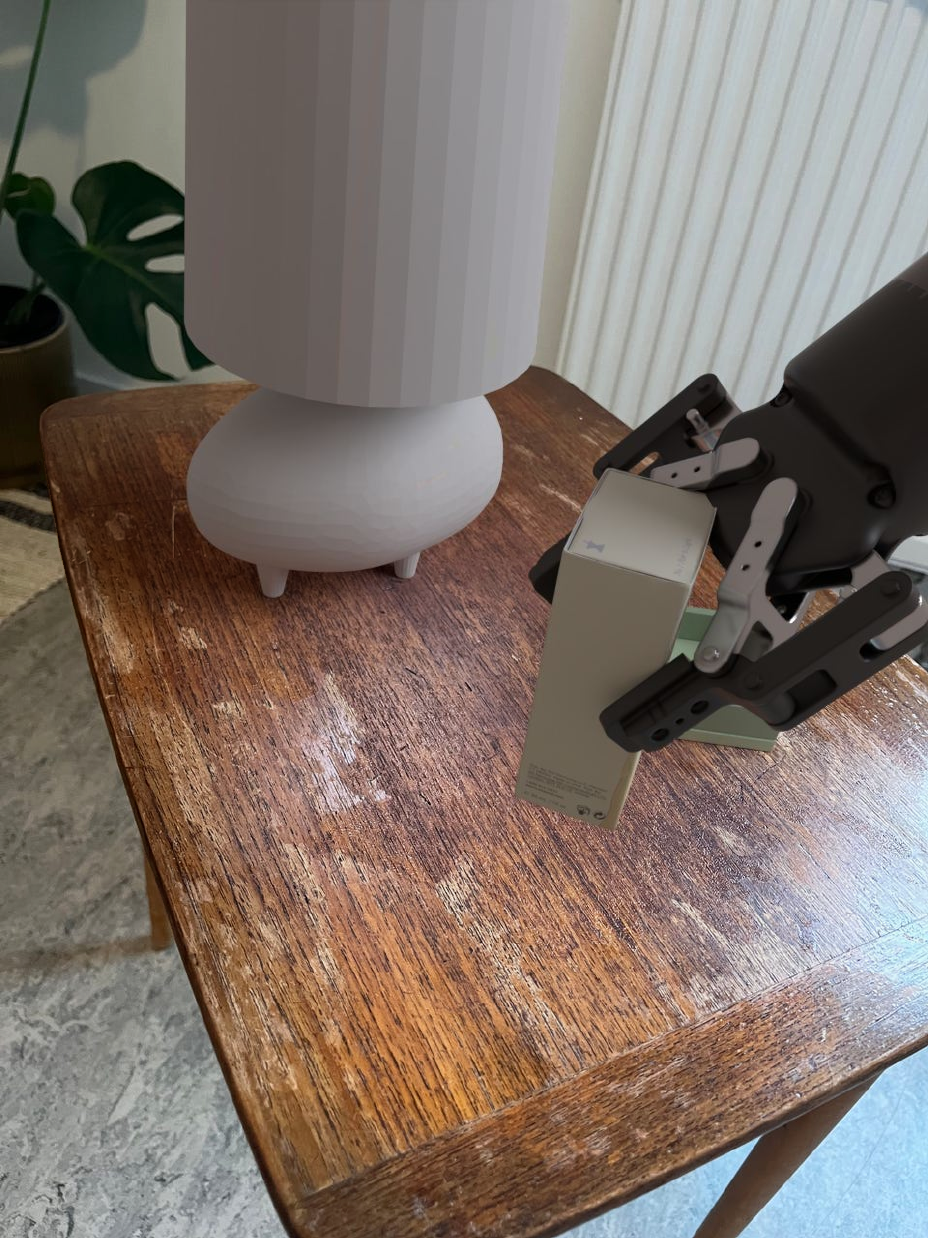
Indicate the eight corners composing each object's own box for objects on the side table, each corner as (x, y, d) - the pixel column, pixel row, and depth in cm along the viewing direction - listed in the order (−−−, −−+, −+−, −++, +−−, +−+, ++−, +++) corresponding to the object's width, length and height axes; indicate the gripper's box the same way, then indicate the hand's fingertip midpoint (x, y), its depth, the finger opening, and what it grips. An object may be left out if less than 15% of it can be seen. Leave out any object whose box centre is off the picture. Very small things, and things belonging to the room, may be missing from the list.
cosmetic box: (614, 837, 37) (695, 594, 30) (506, 797, 38) (558, 552, 30) (648, 730, 42) (727, 495, 34) (552, 697, 43) (606, 461, 35)
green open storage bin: (771, 752, 62) (789, 714, 60) (621, 731, 62) (634, 692, 60) (749, 652, 70) (764, 615, 68) (615, 633, 70) (626, 596, 68)
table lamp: (260, 711, 60) (239, -75, 34) (144, 526, 73) (66, -142, 47) (553, 612, 71) (702, -40, 45) (406, 467, 84) (457, -102, 58)
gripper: (812, 205, 34) (463, 497, 39) (1112, 399, 24) (591, 768, 28) (880, 343, 39) (563, 589, 43) (1154, 554, 29) (703, 849, 33)
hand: (575, 659), depth 36 cm, fingers closed on cosmetic box, 7 cm apart
